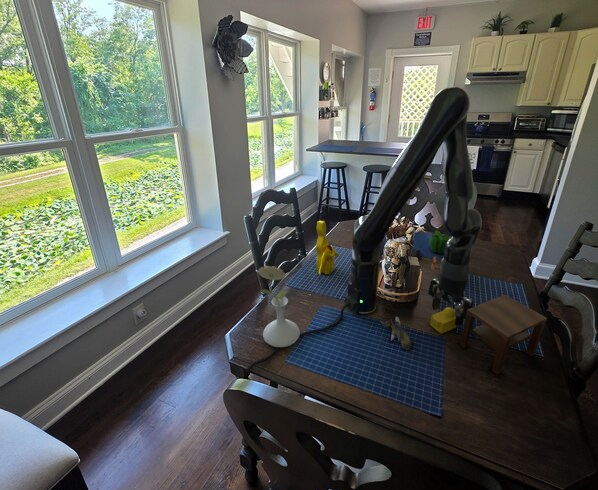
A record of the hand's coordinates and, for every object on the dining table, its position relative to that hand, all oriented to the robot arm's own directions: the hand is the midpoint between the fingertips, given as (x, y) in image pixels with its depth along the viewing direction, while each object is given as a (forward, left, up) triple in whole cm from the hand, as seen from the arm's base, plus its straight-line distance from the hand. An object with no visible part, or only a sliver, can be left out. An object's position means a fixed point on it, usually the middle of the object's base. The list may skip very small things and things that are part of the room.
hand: (446, 316), depth 102 cm
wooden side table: (+5, -14, -3) cm, 15 cm away
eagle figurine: (-18, +2, -4) cm, 19 cm away
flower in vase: (-50, +19, -4) cm, 54 cm away
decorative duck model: (+26, +20, -4) cm, 33 cm away
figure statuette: (-18, +47, -4) cm, 50 cm away
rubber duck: (-1, 0, -3) cm, 4 cm away
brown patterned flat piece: (+17, +45, -4) cm, 48 cm away
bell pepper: (+37, +38, -4) cm, 53 cm away
